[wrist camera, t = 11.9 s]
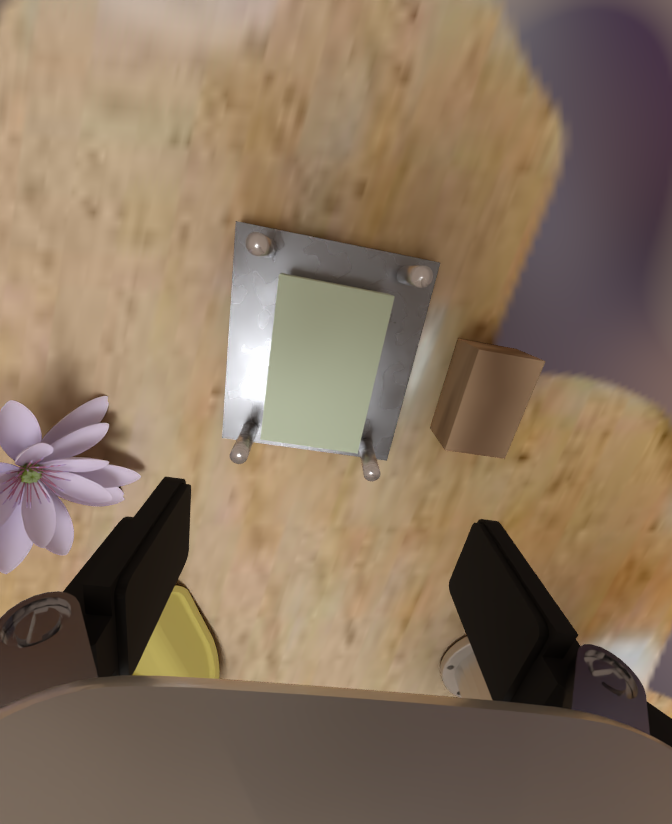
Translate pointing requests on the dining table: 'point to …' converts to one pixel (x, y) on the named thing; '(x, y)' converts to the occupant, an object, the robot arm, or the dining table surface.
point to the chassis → (254, 316)
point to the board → (323, 362)
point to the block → (484, 398)
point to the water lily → (51, 478)
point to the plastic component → (180, 642)
